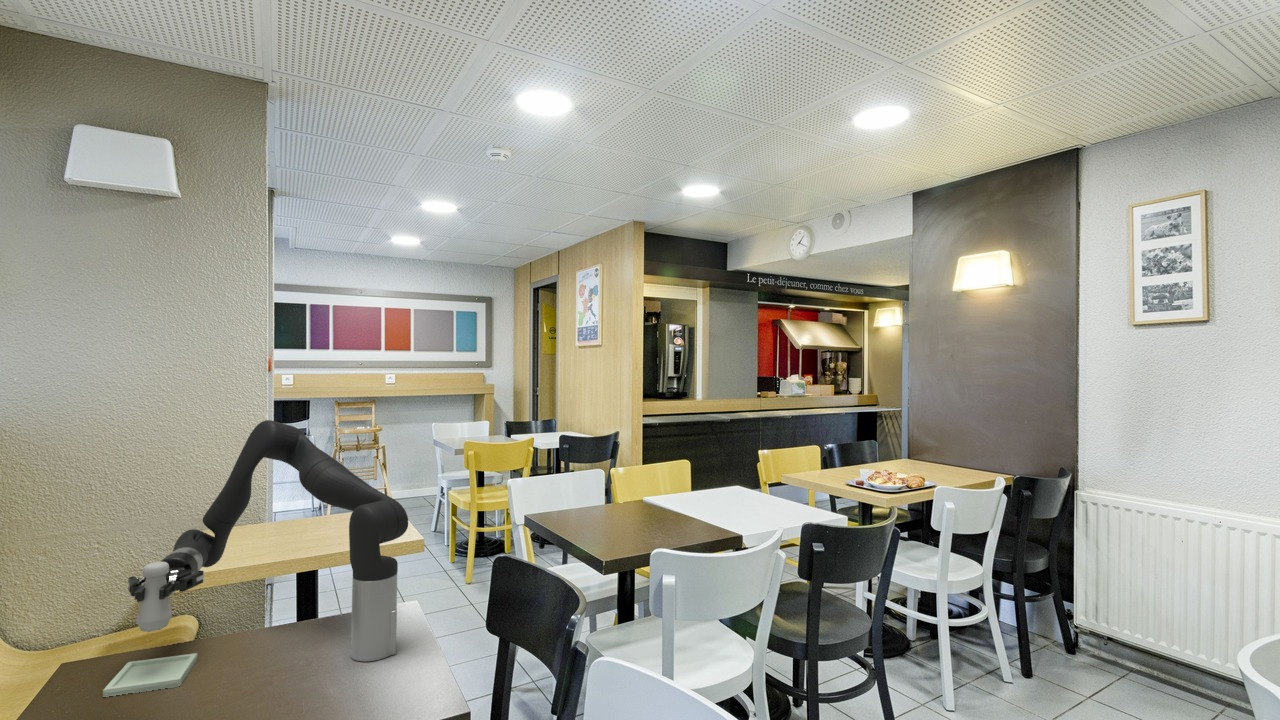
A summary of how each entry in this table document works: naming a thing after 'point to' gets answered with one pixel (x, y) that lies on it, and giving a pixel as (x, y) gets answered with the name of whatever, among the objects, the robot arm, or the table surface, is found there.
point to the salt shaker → (154, 599)
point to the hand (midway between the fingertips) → (150, 595)
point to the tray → (151, 675)
